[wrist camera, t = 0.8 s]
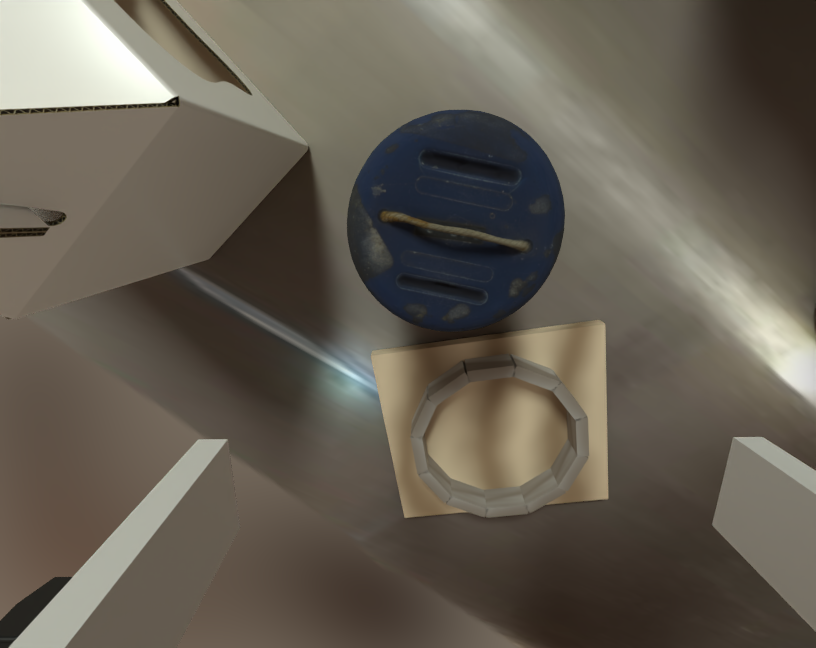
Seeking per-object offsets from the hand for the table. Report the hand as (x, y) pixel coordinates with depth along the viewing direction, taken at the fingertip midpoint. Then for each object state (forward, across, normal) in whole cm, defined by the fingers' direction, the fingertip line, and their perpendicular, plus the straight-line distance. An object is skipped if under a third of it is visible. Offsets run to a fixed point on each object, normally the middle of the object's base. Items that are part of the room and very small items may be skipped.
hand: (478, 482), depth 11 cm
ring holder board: (+25, +6, -13) cm, 29 cm away
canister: (+25, +1, +7) cm, 26 cm away
